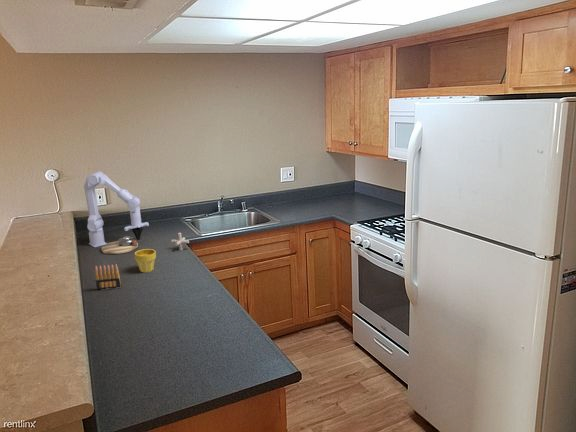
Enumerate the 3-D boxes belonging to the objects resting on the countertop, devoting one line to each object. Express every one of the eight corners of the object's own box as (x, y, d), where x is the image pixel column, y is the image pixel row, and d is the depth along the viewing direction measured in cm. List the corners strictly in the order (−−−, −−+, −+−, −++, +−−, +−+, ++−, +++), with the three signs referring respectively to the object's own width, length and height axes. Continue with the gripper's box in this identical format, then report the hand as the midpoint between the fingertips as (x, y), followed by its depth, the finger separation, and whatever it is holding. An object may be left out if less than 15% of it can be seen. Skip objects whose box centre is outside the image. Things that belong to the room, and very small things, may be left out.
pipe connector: (185, 253, 255) (184, 236, 253) (169, 252, 257) (167, 235, 254) (192, 247, 265) (191, 230, 262) (176, 246, 267) (175, 230, 264)
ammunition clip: (121, 286, 214) (118, 262, 211) (120, 288, 212) (117, 264, 209) (97, 288, 212) (94, 265, 209) (96, 290, 210) (93, 266, 207)
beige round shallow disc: (96, 248, 265) (95, 241, 264) (128, 240, 279) (128, 233, 277) (110, 256, 251) (109, 249, 250) (143, 247, 264) (143, 240, 263)
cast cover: (116, 244, 268) (115, 237, 267) (131, 240, 274) (130, 234, 272) (123, 247, 261) (122, 241, 260) (137, 243, 267) (136, 237, 266)
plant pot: (161, 267, 235) (159, 250, 232) (148, 275, 226) (145, 256, 223) (146, 265, 239) (144, 247, 237) (132, 272, 230) (129, 254, 228)
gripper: (126, 221, 261) (129, 244, 264) (150, 216, 270) (152, 238, 274) (121, 219, 266) (124, 241, 269) (144, 214, 275) (147, 235, 279)
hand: (138, 239), depth 272 cm, fingers closed
